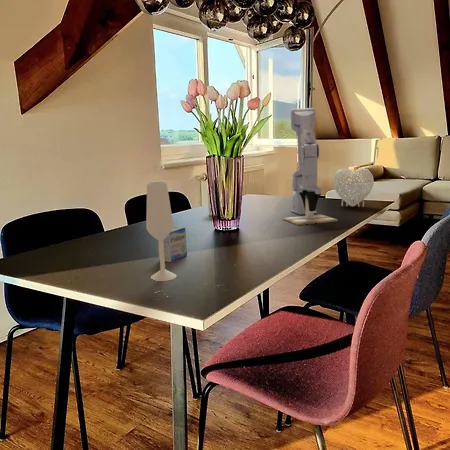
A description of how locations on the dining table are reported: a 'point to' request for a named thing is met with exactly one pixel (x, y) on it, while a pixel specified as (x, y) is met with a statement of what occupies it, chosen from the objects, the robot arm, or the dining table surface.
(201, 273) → the dining table surface
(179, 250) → the medicine box
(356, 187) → the decorative heart
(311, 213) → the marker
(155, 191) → the champagne flute
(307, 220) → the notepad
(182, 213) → the dining table surface
